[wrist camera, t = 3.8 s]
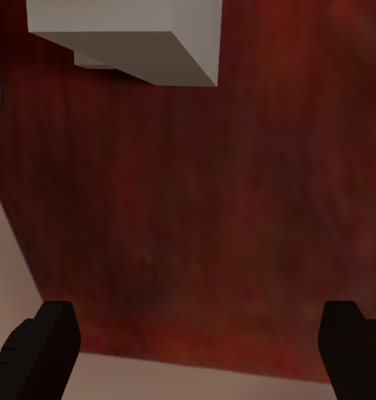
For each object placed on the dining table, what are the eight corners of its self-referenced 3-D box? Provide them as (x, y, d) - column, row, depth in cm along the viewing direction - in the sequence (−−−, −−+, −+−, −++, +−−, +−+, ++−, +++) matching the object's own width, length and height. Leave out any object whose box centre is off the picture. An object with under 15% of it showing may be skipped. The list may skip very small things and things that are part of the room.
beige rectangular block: (115, 69, 37) (104, 64, 34) (87, 69, 37) (74, 64, 35) (114, -29, 34) (102, -43, 32) (84, -28, 35) (69, -41, 32)
